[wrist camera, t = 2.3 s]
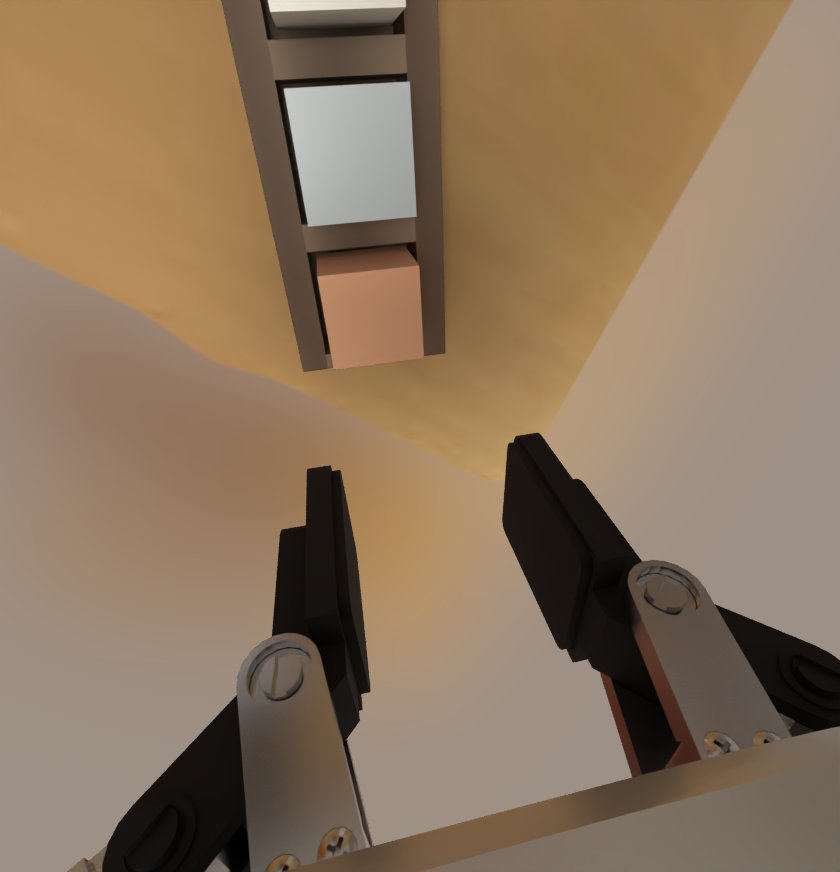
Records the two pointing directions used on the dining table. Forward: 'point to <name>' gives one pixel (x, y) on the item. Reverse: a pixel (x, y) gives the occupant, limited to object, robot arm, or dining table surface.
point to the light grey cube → (354, 151)
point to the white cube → (334, 13)
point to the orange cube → (371, 306)
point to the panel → (272, 138)
